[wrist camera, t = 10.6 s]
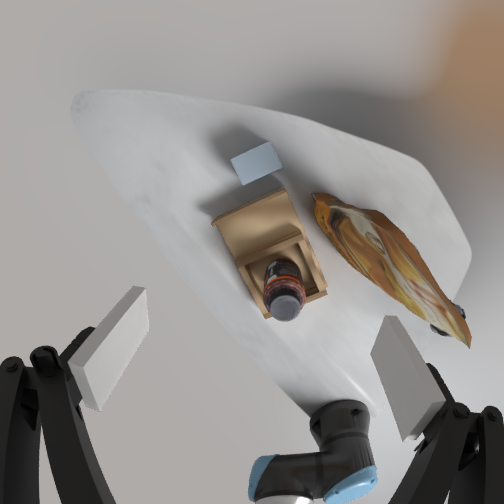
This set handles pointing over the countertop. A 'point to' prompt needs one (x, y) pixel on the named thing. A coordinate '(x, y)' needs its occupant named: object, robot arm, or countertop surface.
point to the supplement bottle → (283, 289)
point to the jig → (270, 243)
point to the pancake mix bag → (388, 261)
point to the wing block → (256, 163)
